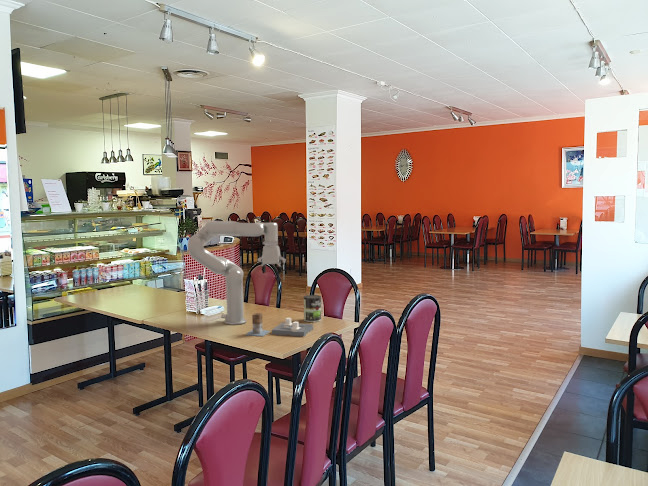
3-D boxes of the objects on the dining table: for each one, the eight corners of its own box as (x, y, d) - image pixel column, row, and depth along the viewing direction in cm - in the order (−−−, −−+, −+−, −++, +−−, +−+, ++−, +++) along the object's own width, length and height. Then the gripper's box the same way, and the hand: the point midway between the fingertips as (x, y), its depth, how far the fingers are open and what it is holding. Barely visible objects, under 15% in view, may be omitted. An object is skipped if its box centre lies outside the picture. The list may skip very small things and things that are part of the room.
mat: (245, 335, 268) (245, 334, 268) (252, 330, 278) (252, 329, 278) (262, 336, 265) (262, 335, 265) (269, 331, 275) (269, 330, 275)
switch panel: (271, 334, 269) (271, 329, 269) (282, 326, 285) (282, 322, 285) (304, 336, 265) (304, 331, 264) (312, 328, 280) (312, 324, 280)
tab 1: (283, 325, 277) (283, 319, 276) (286, 323, 281) (286, 317, 281) (290, 326, 276) (290, 319, 275) (293, 324, 280) (293, 317, 279)
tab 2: (290, 329, 268) (290, 323, 268) (293, 327, 272) (293, 321, 272) (298, 330, 267) (297, 323, 267) (300, 328, 271) (300, 321, 271)
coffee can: (324, 320, 299) (324, 296, 297) (310, 323, 293) (310, 299, 291) (314, 317, 307) (314, 294, 306) (300, 319, 301) (300, 296, 300)
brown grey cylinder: (252, 333, 270) (252, 314, 269) (255, 331, 274) (255, 313, 273) (259, 333, 269) (259, 315, 268) (262, 331, 273) (262, 313, 272)
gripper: (254, 244, 292) (255, 273, 294) (283, 244, 288) (283, 274, 289) (260, 243, 299) (260, 271, 301) (287, 243, 295) (288, 272, 296)
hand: (271, 273), depth 295 cm, fingers open, 9 cm apart
